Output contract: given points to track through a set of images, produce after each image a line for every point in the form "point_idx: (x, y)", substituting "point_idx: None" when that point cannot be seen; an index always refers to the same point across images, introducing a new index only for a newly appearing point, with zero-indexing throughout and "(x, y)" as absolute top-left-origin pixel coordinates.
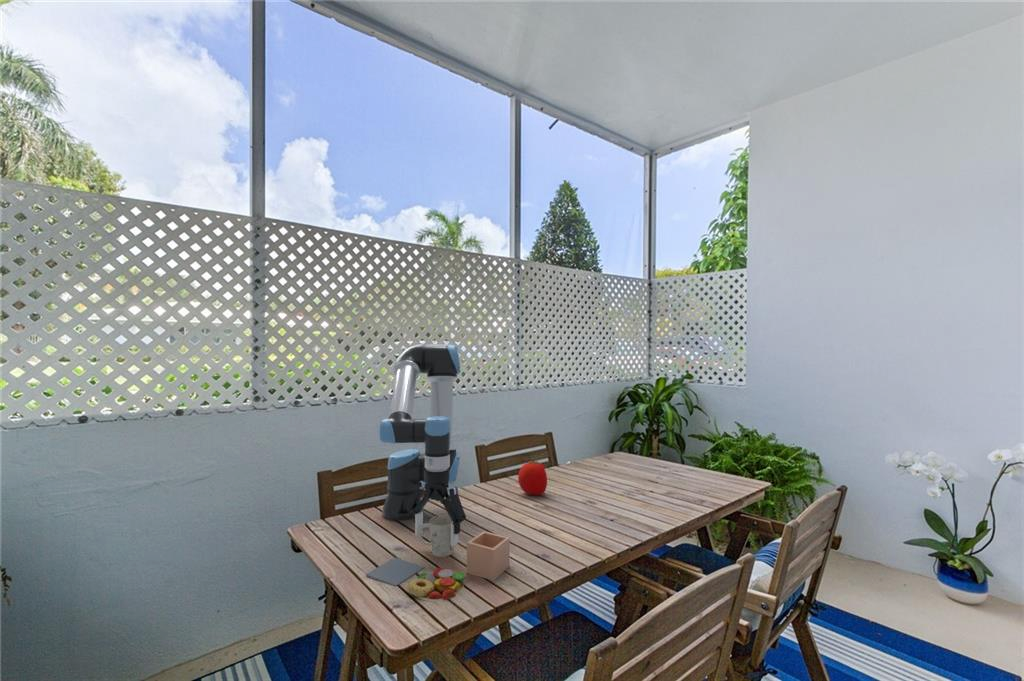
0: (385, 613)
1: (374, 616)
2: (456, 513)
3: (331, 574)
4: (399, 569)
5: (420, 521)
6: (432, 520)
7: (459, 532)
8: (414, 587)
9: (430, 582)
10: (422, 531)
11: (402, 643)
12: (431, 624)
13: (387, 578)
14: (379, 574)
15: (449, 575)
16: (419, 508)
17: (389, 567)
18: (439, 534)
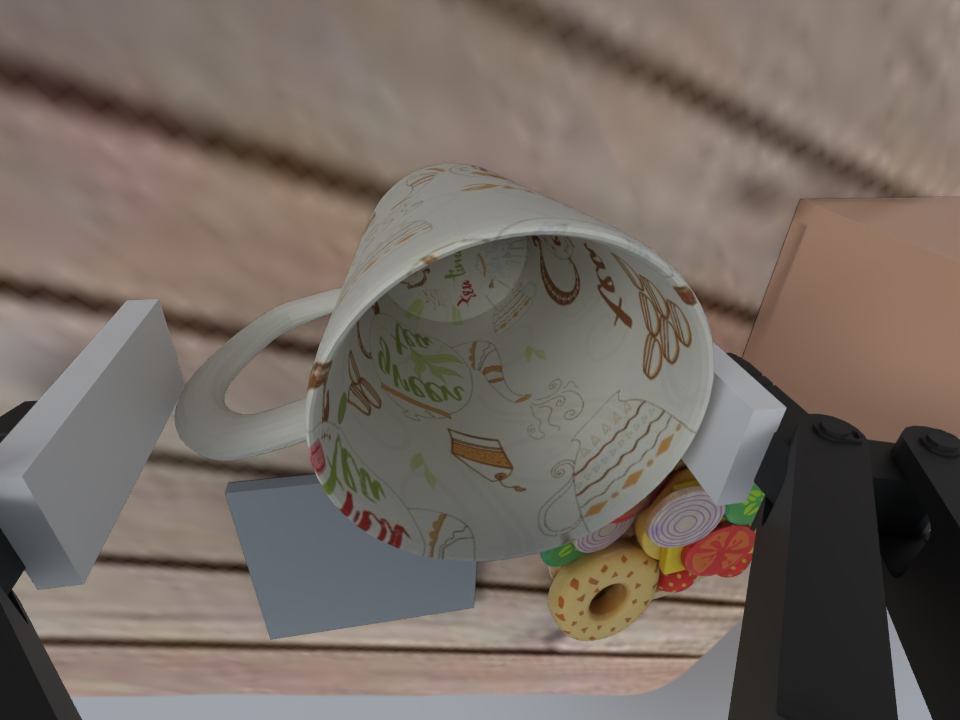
0: (546, 664)
1: (525, 683)
2: (908, 616)
3: (115, 694)
4: (379, 545)
5: (111, 428)
6: (328, 431)
7: (732, 356)
8: (606, 636)
9: (632, 567)
10: (153, 311)
11: (668, 679)
12: (710, 618)
13: (395, 605)
14: (330, 610)
15: (713, 523)
16: (51, 668)
17: (311, 561)
18: (539, 460)
